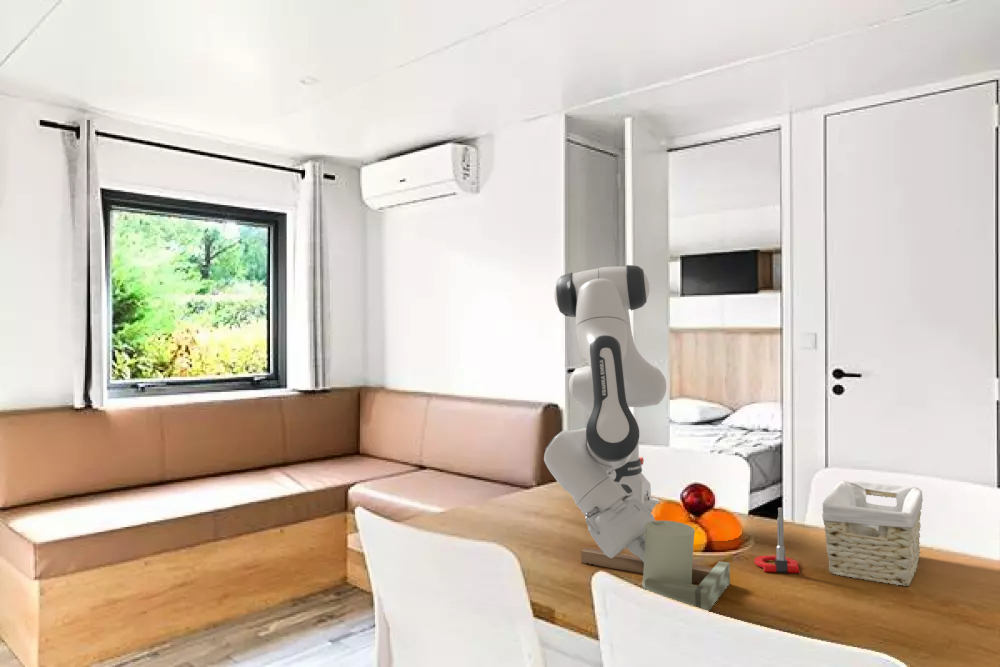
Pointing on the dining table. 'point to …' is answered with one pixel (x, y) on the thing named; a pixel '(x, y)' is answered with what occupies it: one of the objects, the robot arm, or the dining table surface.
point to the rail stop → (696, 595)
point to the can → (668, 551)
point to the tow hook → (778, 554)
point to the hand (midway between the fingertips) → (651, 560)
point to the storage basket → (873, 532)
